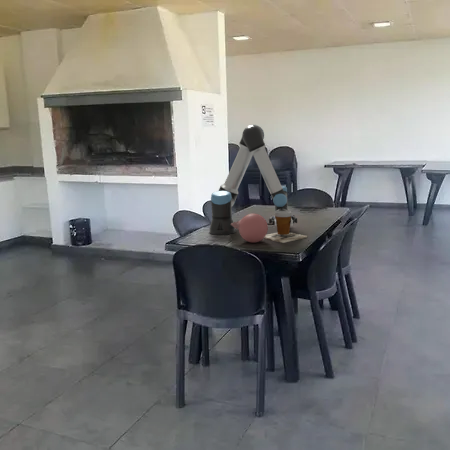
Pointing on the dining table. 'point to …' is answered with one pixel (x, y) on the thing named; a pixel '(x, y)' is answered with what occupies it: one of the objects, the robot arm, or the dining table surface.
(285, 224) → the disposable coffee cup
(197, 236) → the dining table surface
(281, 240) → the board
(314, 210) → the dining table surface
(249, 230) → the balloon
